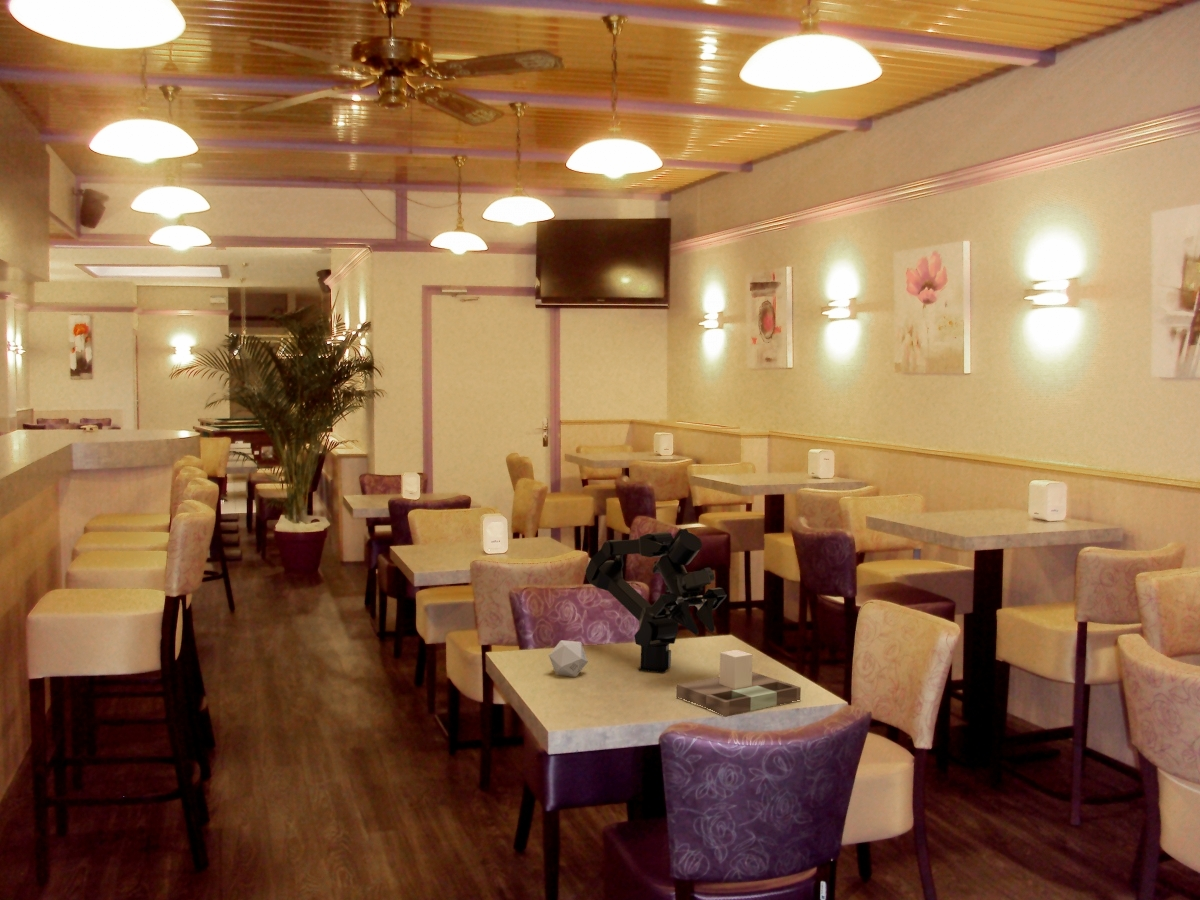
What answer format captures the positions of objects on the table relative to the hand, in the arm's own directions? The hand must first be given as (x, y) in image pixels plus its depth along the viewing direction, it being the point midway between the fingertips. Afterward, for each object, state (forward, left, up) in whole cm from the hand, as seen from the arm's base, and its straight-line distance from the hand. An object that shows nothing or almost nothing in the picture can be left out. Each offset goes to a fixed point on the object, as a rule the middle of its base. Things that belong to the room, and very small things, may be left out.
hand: (705, 632), depth 248 cm
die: (-33, -1, -13) cm, 35 cm away
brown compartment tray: (+9, -7, -13) cm, 17 cm away
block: (+8, -7, -10) cm, 14 cm away
